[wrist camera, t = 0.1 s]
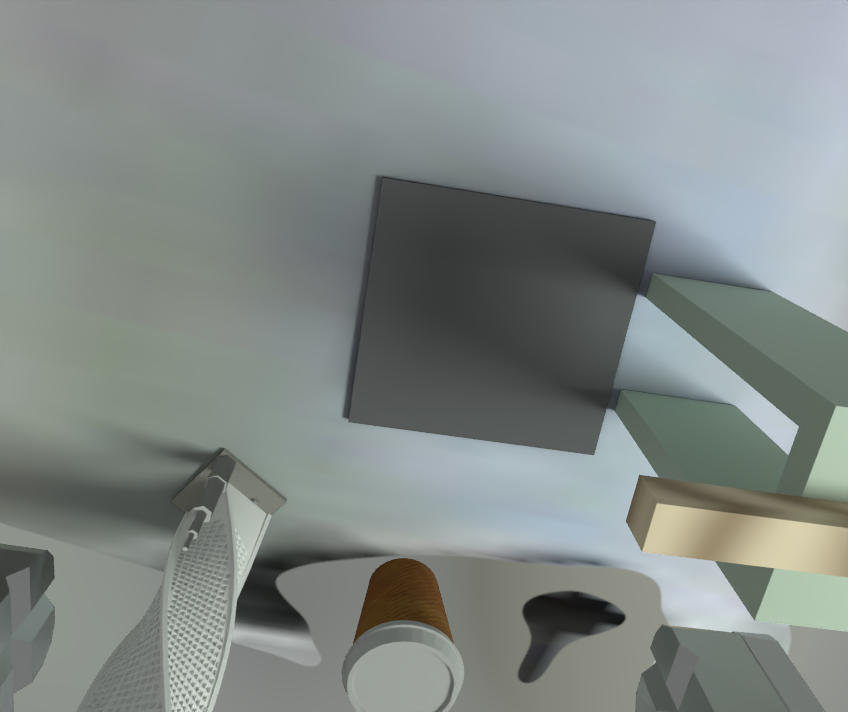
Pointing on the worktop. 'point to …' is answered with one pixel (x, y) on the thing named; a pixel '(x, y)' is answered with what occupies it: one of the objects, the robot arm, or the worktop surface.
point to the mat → (495, 316)
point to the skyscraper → (191, 598)
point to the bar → (740, 526)
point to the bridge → (745, 442)
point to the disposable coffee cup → (403, 645)
